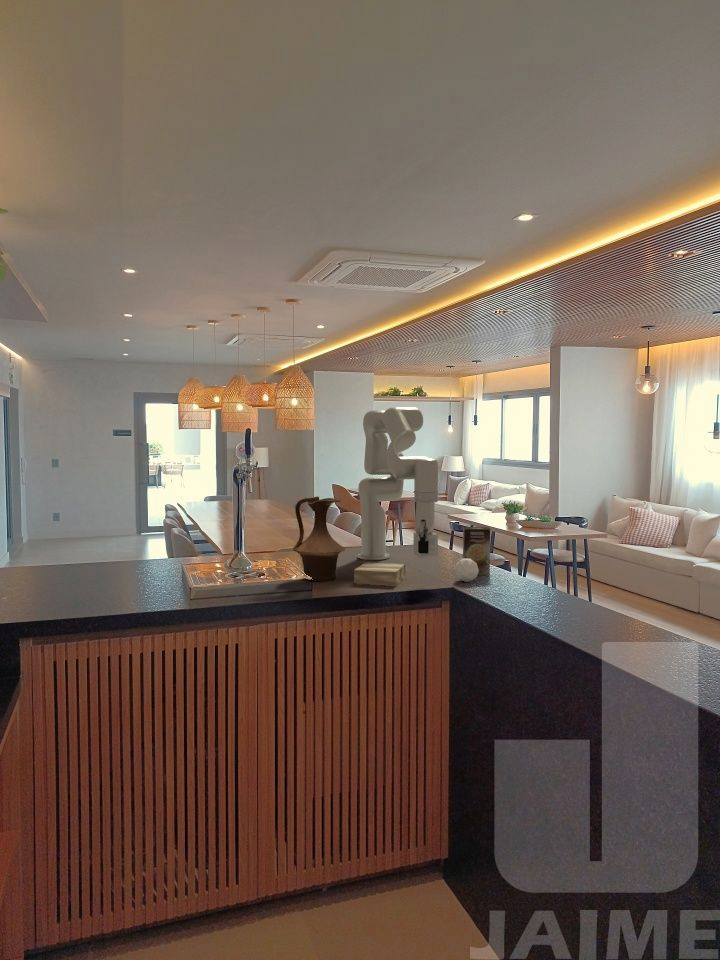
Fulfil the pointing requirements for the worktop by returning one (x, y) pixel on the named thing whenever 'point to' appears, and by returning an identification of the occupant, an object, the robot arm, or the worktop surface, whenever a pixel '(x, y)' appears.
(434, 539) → the product box
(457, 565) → the geometric ball
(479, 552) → the coffee box
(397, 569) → the birch block
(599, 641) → the worktop surface
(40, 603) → the worktop surface
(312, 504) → the pitcher
